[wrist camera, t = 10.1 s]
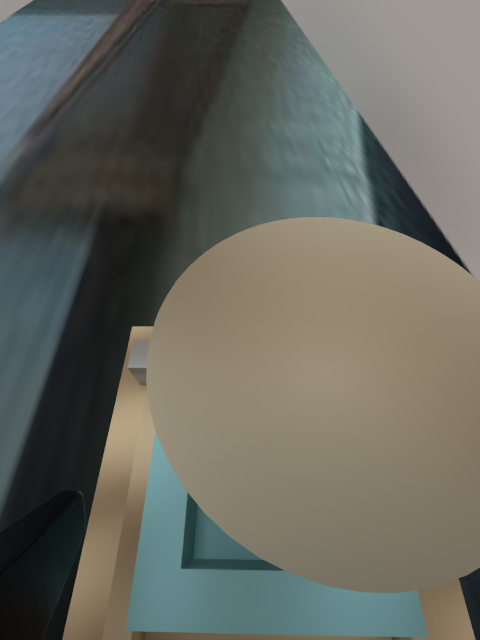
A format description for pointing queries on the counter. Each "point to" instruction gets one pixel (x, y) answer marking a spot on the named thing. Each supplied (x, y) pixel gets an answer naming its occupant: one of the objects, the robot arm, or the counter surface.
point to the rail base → (125, 524)
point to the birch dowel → (327, 401)
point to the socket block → (239, 580)
